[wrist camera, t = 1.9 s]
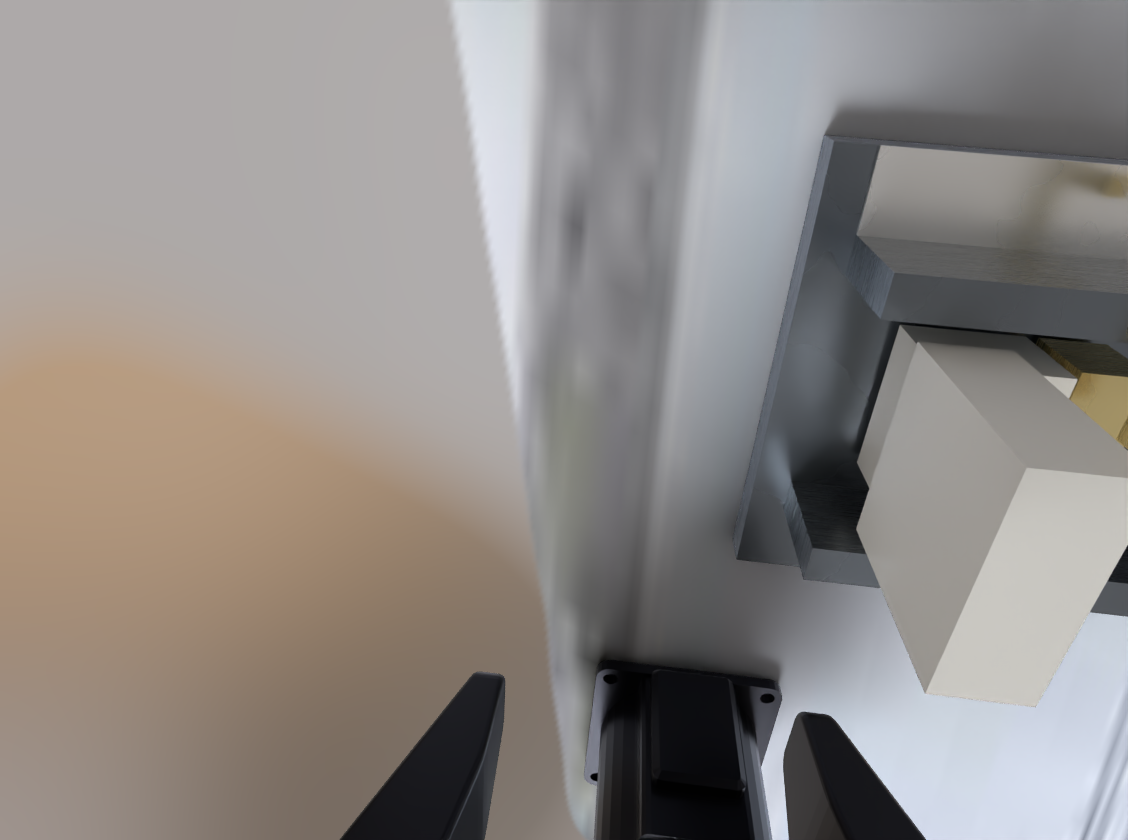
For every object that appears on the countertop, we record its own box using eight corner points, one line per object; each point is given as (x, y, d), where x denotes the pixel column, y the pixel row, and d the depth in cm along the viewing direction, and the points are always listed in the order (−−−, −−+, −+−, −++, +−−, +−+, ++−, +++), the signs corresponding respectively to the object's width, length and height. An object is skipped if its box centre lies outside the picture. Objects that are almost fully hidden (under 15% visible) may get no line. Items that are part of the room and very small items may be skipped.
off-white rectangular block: (963, 489, 20) (1120, 717, 13) (833, 475, 20) (924, 693, 13) (1033, 317, 17) (1267, 492, 11) (884, 303, 17) (1026, 468, 11)
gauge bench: (1193, 590, 22) (1364, 767, 17) (732, 538, 23) (759, 692, 18) (1455, 186, 16) (1842, 264, 11) (824, 135, 17) (904, 184, 12)
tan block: (1042, 482, 19) (1119, 569, 16) (981, 475, 19) (1045, 561, 16) (1187, 171, 15) (1324, 209, 12) (1110, 165, 16) (1227, 200, 12)
